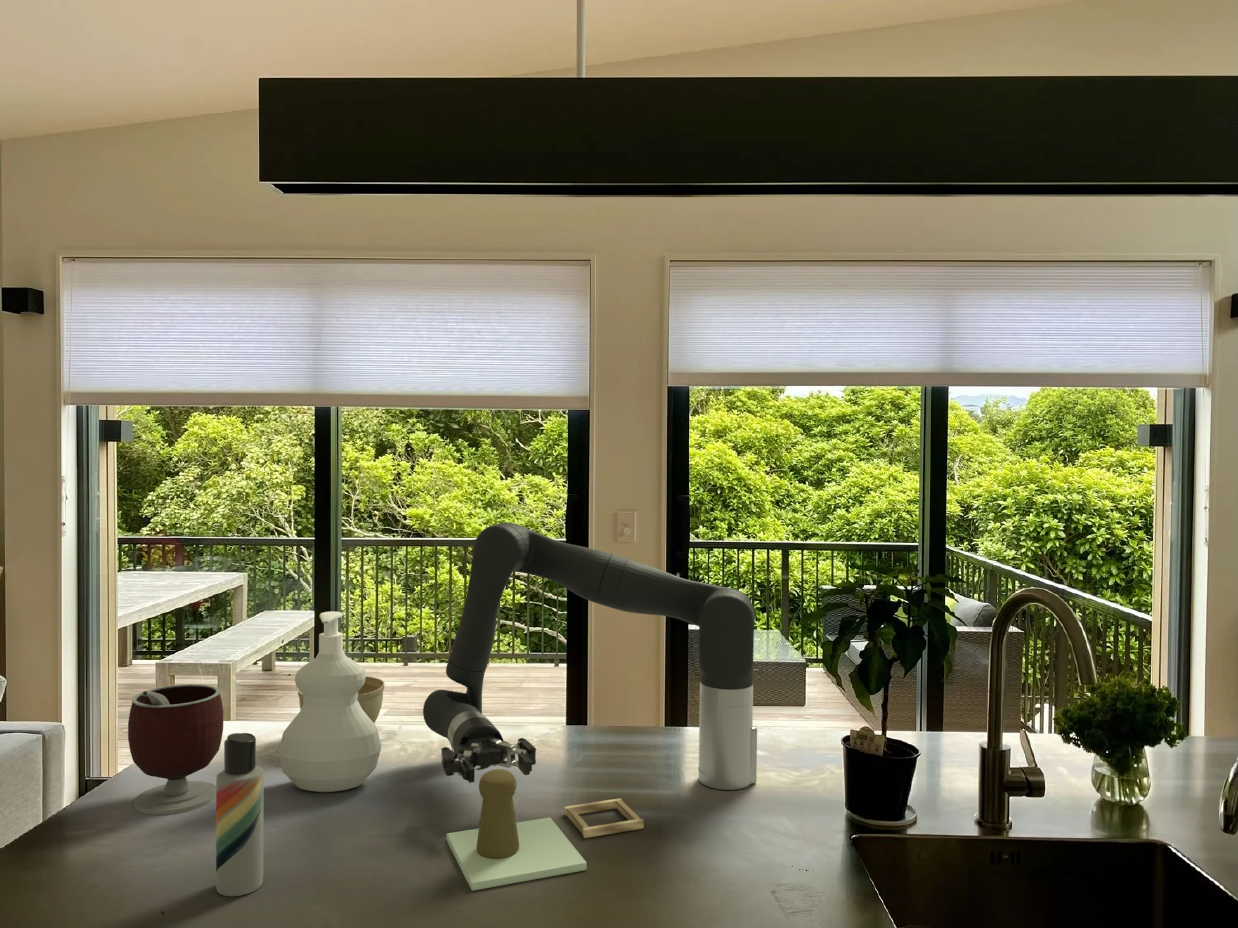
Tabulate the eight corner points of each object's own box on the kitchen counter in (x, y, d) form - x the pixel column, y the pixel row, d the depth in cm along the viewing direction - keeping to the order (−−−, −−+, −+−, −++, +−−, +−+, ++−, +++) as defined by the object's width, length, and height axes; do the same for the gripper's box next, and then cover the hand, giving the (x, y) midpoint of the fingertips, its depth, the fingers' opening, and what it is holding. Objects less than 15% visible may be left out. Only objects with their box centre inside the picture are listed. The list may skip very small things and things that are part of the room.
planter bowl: (357, 722, 187) (357, 670, 187) (400, 741, 176) (400, 685, 176) (282, 740, 176) (282, 684, 175) (323, 761, 164) (323, 702, 164)
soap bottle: (268, 799, 147) (268, 619, 146) (290, 773, 158) (290, 606, 158) (373, 798, 148) (374, 619, 147) (387, 772, 159) (388, 606, 158)
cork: (512, 861, 124) (512, 786, 122) (470, 856, 125) (469, 782, 123) (524, 837, 130) (524, 765, 128) (484, 832, 131) (483, 761, 129)
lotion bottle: (225, 876, 121) (225, 728, 120) (268, 875, 121) (269, 727, 121) (209, 898, 115) (209, 742, 114) (255, 896, 115) (255, 741, 115)
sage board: (550, 823, 139) (550, 817, 139) (586, 869, 124) (586, 862, 124) (446, 840, 132) (446, 833, 132) (471, 890, 118) (471, 882, 118)
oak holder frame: (620, 805, 146) (620, 798, 146) (643, 828, 137) (643, 820, 137) (564, 814, 142) (564, 806, 142) (584, 837, 134) (584, 829, 134)
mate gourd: (161, 781, 154) (161, 664, 153) (239, 784, 153) (239, 667, 152) (101, 818, 138) (101, 689, 138) (187, 823, 137) (188, 692, 137)
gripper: (431, 721, 147) (453, 753, 132) (516, 712, 153) (546, 741, 138) (431, 766, 147) (453, 803, 132) (515, 755, 153) (545, 790, 138)
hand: (500, 772), depth 135 cm, fingers open, 8 cm apart
